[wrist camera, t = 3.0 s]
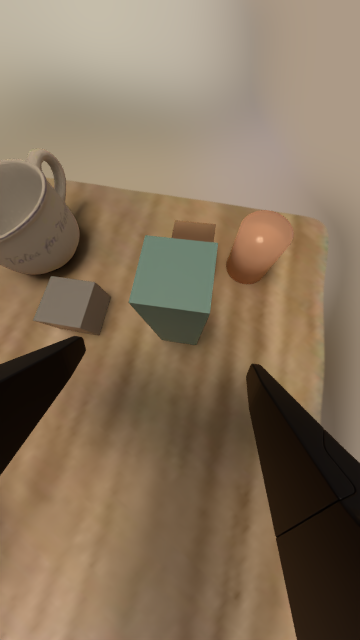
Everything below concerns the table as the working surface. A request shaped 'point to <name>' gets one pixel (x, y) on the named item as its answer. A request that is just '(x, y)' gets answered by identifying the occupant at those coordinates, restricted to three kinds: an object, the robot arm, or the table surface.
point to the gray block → (73, 305)
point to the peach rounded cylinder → (258, 245)
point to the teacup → (35, 216)
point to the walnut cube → (194, 231)
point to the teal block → (175, 286)
